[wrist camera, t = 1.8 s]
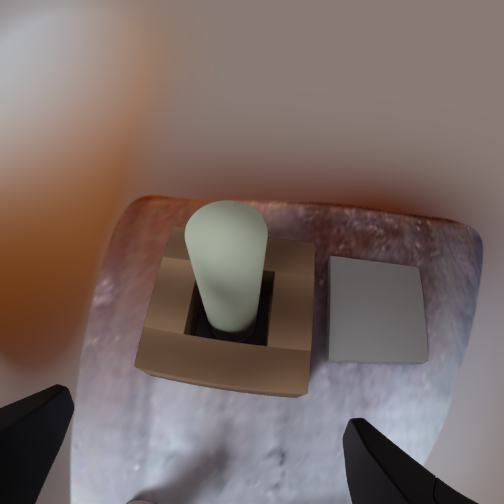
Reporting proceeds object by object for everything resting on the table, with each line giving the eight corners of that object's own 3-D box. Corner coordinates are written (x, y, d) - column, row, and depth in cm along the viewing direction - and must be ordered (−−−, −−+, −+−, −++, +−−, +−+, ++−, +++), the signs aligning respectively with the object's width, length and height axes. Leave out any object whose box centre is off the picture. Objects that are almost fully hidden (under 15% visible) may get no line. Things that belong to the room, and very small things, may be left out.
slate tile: (422, 363, 21) (428, 361, 20) (325, 361, 22) (328, 359, 21) (414, 272, 26) (418, 267, 25) (327, 261, 26) (330, 255, 25)
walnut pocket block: (296, 397, 20) (307, 393, 17) (151, 375, 21) (133, 366, 17) (305, 268, 26) (315, 243, 22) (180, 253, 26) (172, 226, 23)
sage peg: (252, 346, 22) (263, 274, 12) (206, 339, 22) (175, 262, 12) (258, 303, 24) (271, 205, 14) (213, 297, 24) (195, 196, 14)
